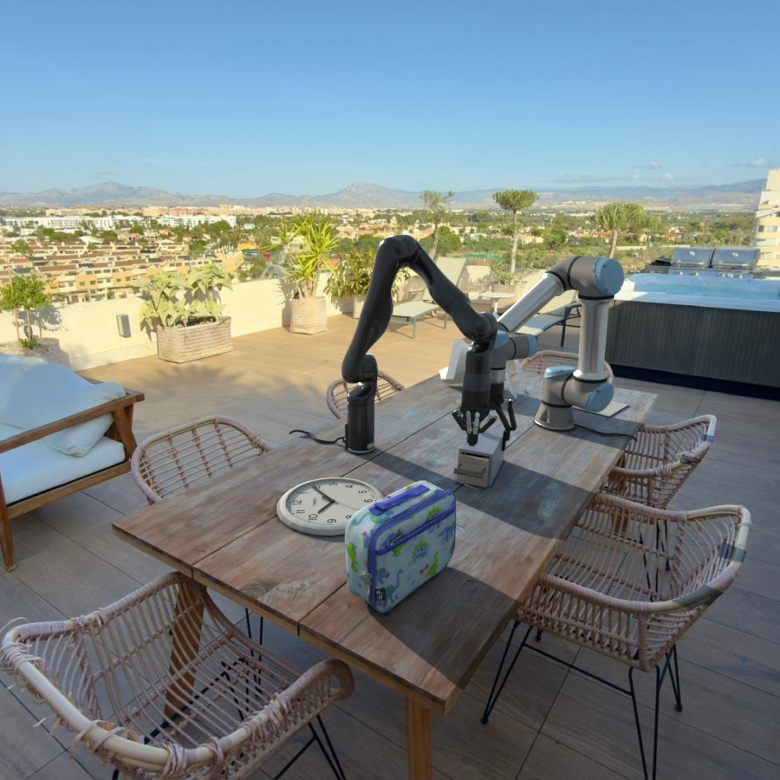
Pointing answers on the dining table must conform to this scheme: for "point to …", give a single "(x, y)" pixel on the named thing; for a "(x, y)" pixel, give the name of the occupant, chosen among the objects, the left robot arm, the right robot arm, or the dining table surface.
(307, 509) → the wall clock
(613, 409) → the invitation card
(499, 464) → the cabinet
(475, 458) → the drawer
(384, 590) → the lunch box
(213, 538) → the dining table surface
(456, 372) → the white plastic object
